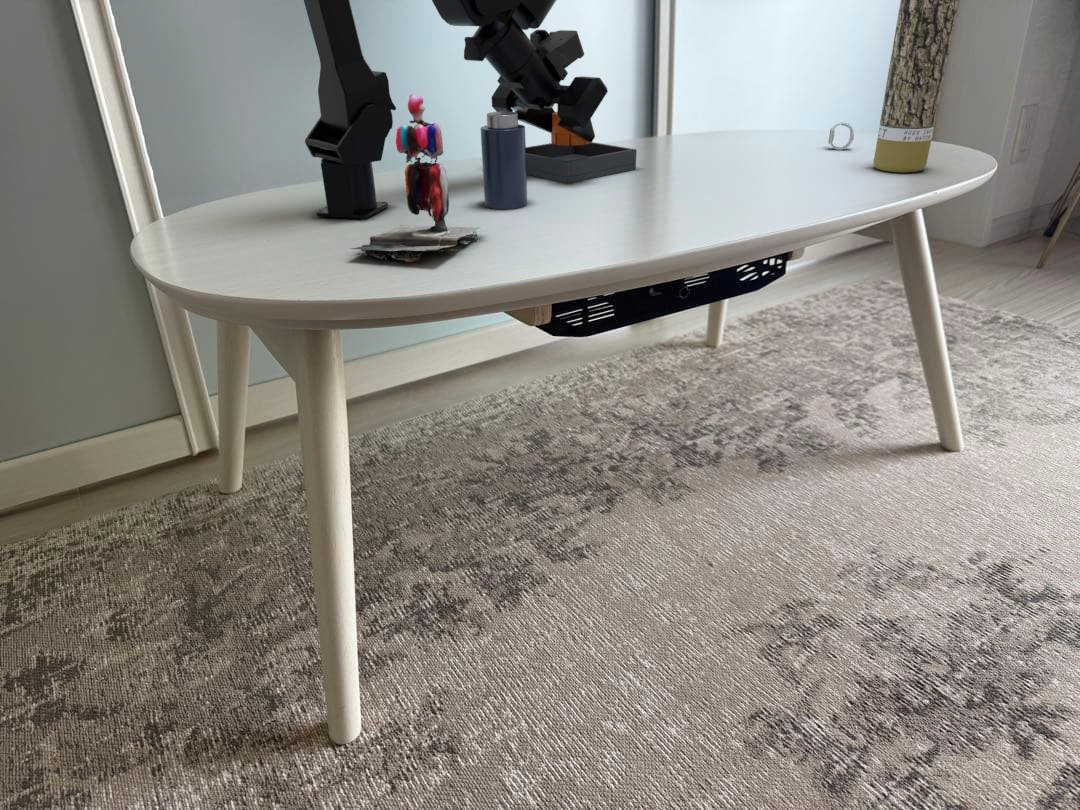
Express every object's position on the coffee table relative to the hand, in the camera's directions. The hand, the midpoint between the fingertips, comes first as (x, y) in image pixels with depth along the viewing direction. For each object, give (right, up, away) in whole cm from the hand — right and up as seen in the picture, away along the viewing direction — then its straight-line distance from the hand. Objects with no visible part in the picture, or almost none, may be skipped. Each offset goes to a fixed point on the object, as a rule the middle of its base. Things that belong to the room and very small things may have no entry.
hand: (578, 137), depth 112 cm
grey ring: (+41, +2, +11) cm, 43 cm away
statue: (-18, -23, -33) cm, 44 cm away
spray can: (-10, -14, -17) cm, 24 cm away
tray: (-1, -4, +1) cm, 5 cm away
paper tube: (+44, -6, -4) cm, 45 cm away
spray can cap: (-1, -1, 0) cm, 2 cm away
